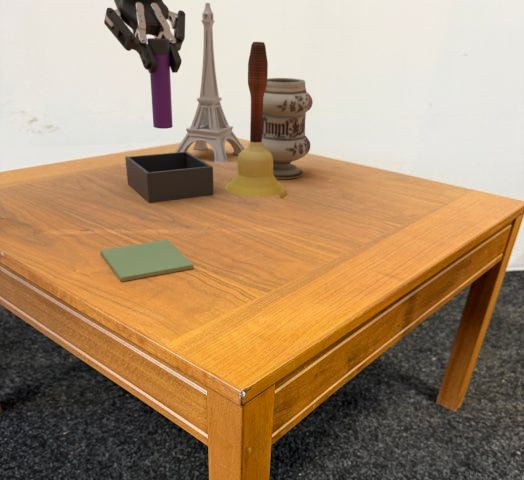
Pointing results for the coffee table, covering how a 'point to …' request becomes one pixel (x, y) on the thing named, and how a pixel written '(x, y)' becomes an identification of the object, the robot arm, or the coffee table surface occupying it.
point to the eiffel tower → (210, 106)
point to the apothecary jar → (285, 124)
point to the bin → (169, 176)
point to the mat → (145, 260)
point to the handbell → (256, 137)
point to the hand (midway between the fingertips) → (165, 68)
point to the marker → (161, 84)
